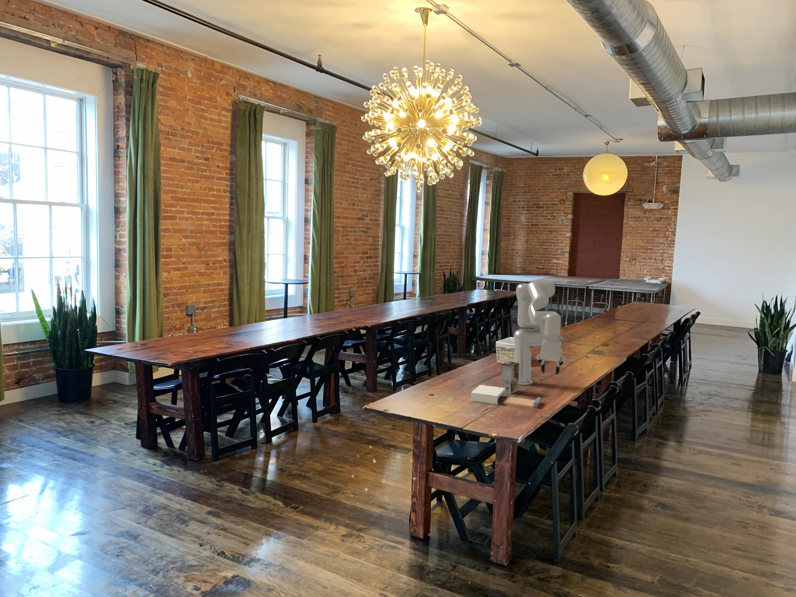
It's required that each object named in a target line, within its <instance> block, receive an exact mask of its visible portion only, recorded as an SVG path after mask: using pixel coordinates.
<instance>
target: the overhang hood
mask: <svg viewBox="0 0 796 597" xmlns="http://www.w3.org/2000/svg"><path fill="white" fill-rule="evenodd" d="M500 397H506V393H505V388H501V386H500V387H499V386H491V385H485V384H479V385H478V386H477V387H476V388H474V389H473V390H472V391H471V392H470V401H471V402H478V403H483V404H491V405H498V401H499V398H500Z"/></svg>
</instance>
